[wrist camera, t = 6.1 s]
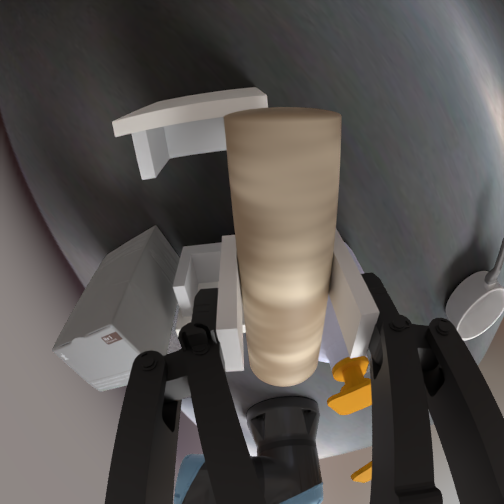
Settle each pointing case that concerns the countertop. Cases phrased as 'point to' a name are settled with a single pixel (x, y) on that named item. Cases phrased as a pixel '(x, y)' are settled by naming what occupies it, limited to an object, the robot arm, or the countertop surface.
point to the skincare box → (122, 312)
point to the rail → (284, 232)
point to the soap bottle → (346, 373)
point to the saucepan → (477, 301)
